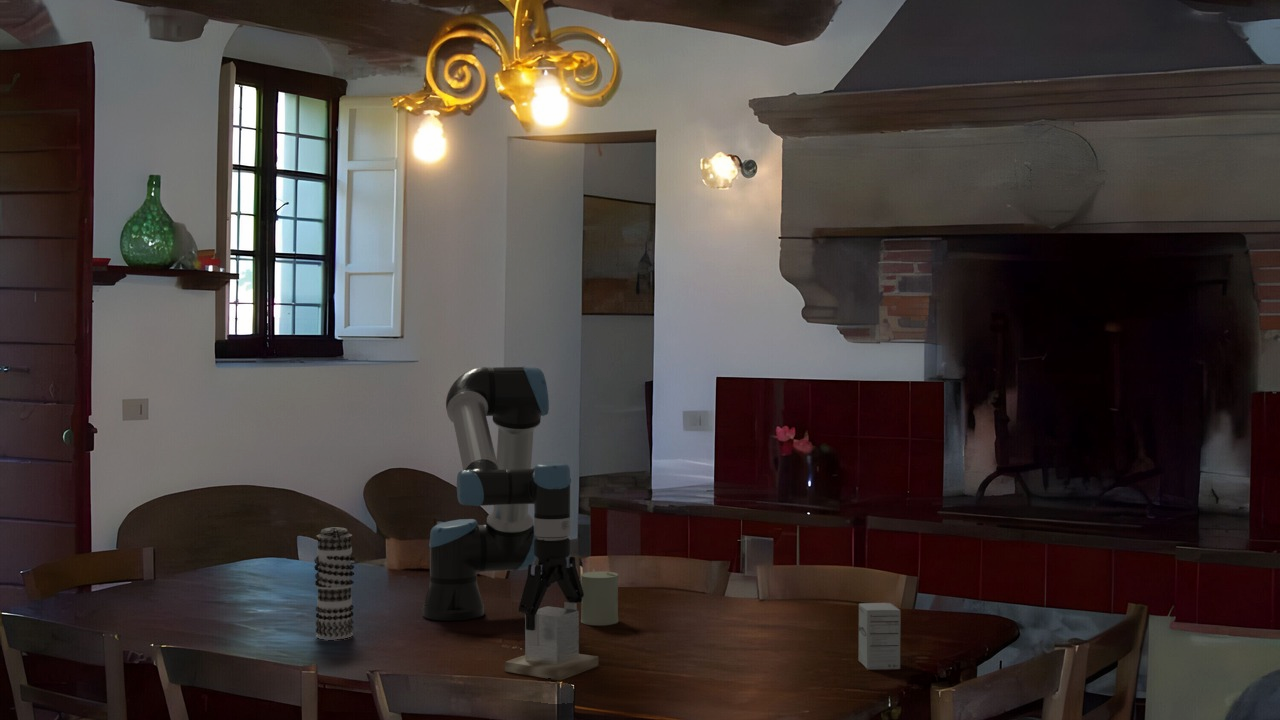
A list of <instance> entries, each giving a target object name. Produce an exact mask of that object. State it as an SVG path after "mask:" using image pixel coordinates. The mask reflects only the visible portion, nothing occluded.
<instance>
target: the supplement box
mask: <svg viewBox="0 0 1280 720" xmlns="http://www.w3.org/2000/svg"><path fill="white" fill-rule="evenodd" d="M901 615H902V614H901V609H899V608H898V607H897V606H895V604H893V603H890V602H868V603H867V602H865V603H858V662H860V663H861V664H862V665H863V666H864V667H865V669H866V670H868V671H869V670H873V671H874V670H900V669H901V622H902V621H901Z"/></svg>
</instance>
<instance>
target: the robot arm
mask: <svg viewBox="0 0 1280 720" xmlns="http://www.w3.org/2000/svg"><path fill="white" fill-rule="evenodd" d="M445 399H446V401H445V409H446V413H447V417H448V418H449V421H451V422H452V423H453V427H454V432H455V436H456V442H457V445H458V446H457V447H458V452H459V456H460V460H461V465H462V470H460V471H459V472H458V474H457V476H456V494H457V501H458V503H459V504H460V505H462V506H475V507H481V506H493V508H492V509H493V510H492V512H491V513H490V514H488V515H487V517H486V524H478V523H479V522H478V521H477V519H474V518H468V519H467V518H465V519H464V518H463V519H454V520H449V521H445V522H440V523H437V524H435V525H434V526H433V527H432V528H431V529H430V534H429V535H430V536H429V544H428V546H429V586H428V590H427V592H426V596H425V599H424V603H423V605H422V616H423V618H426V619H429V620H434V621H445V622H447V621H448V622H449V621H450V622H451V621H467V620H472V619H478V618H480V617H483V616H484V615H485V605H484V602H483V600H482V596H481V593H480V589H479V586H478V573H479V572H480V573H482V572H484V573H485V572H505V571H506V572H508V571H512V572H517V571H522V570H527V576H526V580H525V585H524V588H523V592H522V594H521V598H520V602H519V606H518V612H519V613H522V614H524V615H525V614H526V630H527V645H531V646H539V614H536V613H537V611H538V609H540V605H541V603H542V601H543V599H544V596H545V595H546V592H547V590H548V588H549V587H551V586H552V584H554V583H557V585H558V587H559V589H560V590H561V592H562V594H563V595H564V597H565V599H566V600H567V601H564V602H563V604H564V606H563V608H566V609H573V610H578V603H582V597H583V596H584V593H583V589H582V586H581V578H580V577H579V576H580V575H579V573H578V570H577V563H576V557H575V556H570V555H571V539H570V538H569V536H570V535H571V483H572V478H571V468H570V466H569V465H568V464H567V463H562V462H542V463H538V464H536V465H535V466H534V467H533V468H532V457H533V456H532V455H533V443H534V431H535V428H537V427H538V426H539V425H540V424H541V420H542V419H541V418H542V417H545V416H546V415H548V414H549V410H550V401H549V391H548V385H547V381H546V376H545V374H544V372H543V371H542V370H541V369H540V368H539V367H528V366H527V367H526V366H509V367H501V366H500V367H498V366H497V367H496V366H494V367H493V366H492V367H487V366H482V367H475V368H472V369H470V370H468V371H465V372H464V373H462V374H461V375H460V376H459V377H458V378H457V379H456V380H455V381H454V382H453V384H452V385H451V386H450V388H449V390H448V392H447V395H446V398H445ZM541 416H542V417H541ZM487 417H492V422H493V423H494V425H495V426H496V427H498V428H497V429H498V430H497V445H496V448H497V449H496V453H495V448H494V445H493V441H492V436H491V435H492V434H491V431H490V427H489V423H488V419H487ZM529 505H534V506H533V507H534V514H533V516H534V517H532V516H531V515H530V514H529ZM537 559H538V562H537V564H535V563H536V560H537Z"/></svg>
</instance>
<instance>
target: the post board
mask: <svg viewBox="0 0 1280 720" xmlns="http://www.w3.org/2000/svg"><path fill="white" fill-rule="evenodd" d="M597 667H599V656H598V655H589V654H583V653H579V658H576V659H574V660H571V661H568V662H565V663H563V664H560V665H557V666H556V665H550V664H543V663H537V662H531V661H525V654H524V655H521V656H518V657H515V658H512V659H509V660H507V661H504V672H505V673H506V672H507V673H512V674H519V675H525V676H531V677H537V678H541V679H542V678H543V679H548V678H551V679H550V680H554V681H559V682H560V681H563V680H566V679H569V678H570V677H574V676H576V675H579V674H581V673H584V672H586V671H589V670H591V669H594V668H597Z"/></svg>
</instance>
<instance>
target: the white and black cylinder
mask: <svg viewBox="0 0 1280 720" xmlns="http://www.w3.org/2000/svg"><path fill="white" fill-rule="evenodd" d="M352 536H353V534H352V533H350V532H349V529H348V528H345V527H340V526H339V527H336V526H335V527H334V526H333V527H332V526H331V527H325V528H323V529H321V531H320V532H319V534H317V535H316V536H315V537H317V548H316V552H317V553H316V555H317V556H316V557H315V558H314V561H313V562H314V564H315V565H314V570H315V571H316V574H315V575H314V577H315V581H314V583H315V588H317V600H316V603H317V606H316V607H315V611H316V612H317V613H316V614H315V618H316V619H317V620H316V621H315V626H316V627H315V633H316V635H315V638H316V637H318V638H323V639H340V638H347V637H351V636H352V635H353V636H354V633H353V631H354V628H355V627H354V626H353V624H354V623H355V622H354V619H353V618H352V617H353V616H354V612H353V611H352V610H354V605H353V597H352V587H354V583H355V582H354V580H352V579H351V577H353V576H354V575H355V572H354V571H353V569H354V568H355V565H354V564H352V563H351V562H353V561H354V560H356V557H355V556H354V554H355V551H353V547H352ZM351 638H352V637H351Z"/></svg>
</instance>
